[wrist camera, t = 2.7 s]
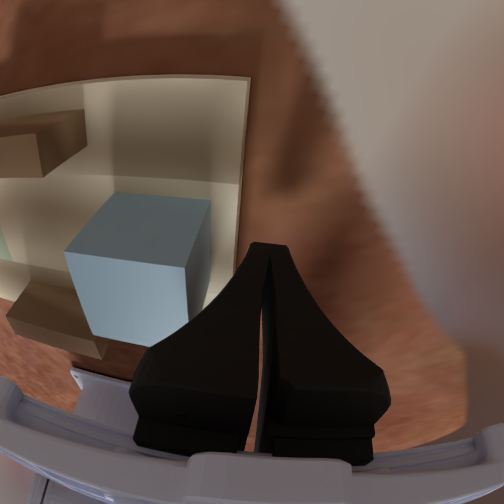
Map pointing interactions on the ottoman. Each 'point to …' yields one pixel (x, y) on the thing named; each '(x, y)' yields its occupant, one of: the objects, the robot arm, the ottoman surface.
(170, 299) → the blue block
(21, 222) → the cream flat tray
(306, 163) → the ottoman surface
